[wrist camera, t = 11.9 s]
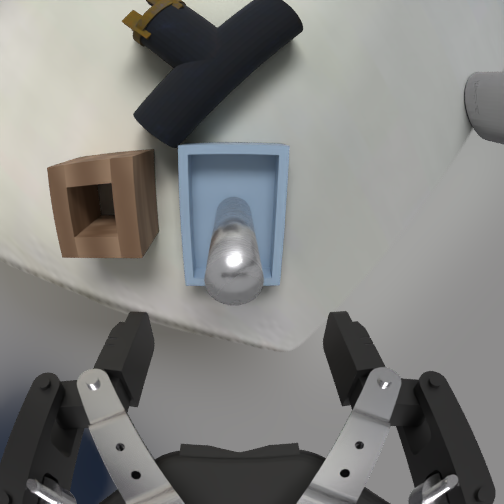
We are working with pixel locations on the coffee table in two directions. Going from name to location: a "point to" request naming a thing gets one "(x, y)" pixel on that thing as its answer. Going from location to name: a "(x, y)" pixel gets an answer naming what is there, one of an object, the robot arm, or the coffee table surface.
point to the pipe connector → (204, 58)
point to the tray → (232, 185)
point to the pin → (233, 255)
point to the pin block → (88, 205)
